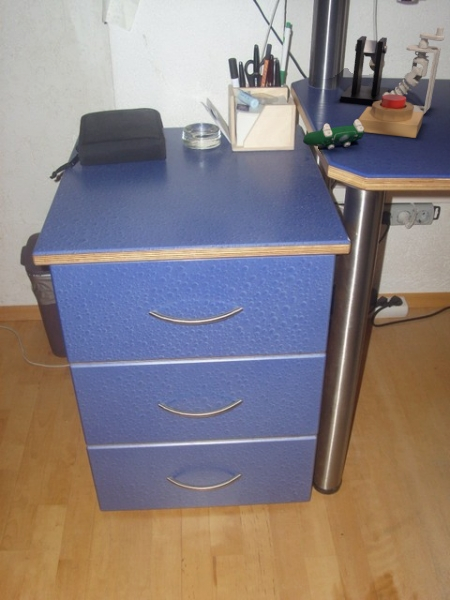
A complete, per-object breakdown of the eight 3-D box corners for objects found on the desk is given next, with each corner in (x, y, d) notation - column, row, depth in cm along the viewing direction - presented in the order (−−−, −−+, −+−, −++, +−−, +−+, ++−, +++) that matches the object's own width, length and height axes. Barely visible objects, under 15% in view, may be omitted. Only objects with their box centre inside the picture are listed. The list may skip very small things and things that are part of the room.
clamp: (384, 103, 118) (396, 21, 110) (433, 109, 115) (449, 24, 106) (378, 108, 115) (390, 24, 107) (428, 115, 112) (444, 28, 103)
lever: (368, 72, 129) (371, 57, 128) (383, 73, 128) (386, 58, 127) (360, 54, 116) (363, 37, 115) (376, 55, 115) (380, 38, 114)
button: (406, 105, 104) (407, 95, 103) (402, 111, 101) (404, 101, 100) (383, 103, 105) (384, 93, 105) (379, 109, 102) (380, 99, 101)
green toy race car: (307, 159, 98) (321, 142, 92) (300, 138, 98) (314, 119, 92) (356, 151, 100) (373, 134, 94) (349, 131, 101) (365, 112, 95)
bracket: (350, 90, 127) (357, 33, 121) (388, 93, 124) (397, 35, 118) (340, 102, 119) (346, 41, 113) (380, 106, 117) (388, 44, 110)
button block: (421, 124, 107) (425, 102, 105) (415, 138, 101) (419, 114, 98) (366, 118, 110) (368, 96, 108) (356, 131, 104) (359, 108, 102)
